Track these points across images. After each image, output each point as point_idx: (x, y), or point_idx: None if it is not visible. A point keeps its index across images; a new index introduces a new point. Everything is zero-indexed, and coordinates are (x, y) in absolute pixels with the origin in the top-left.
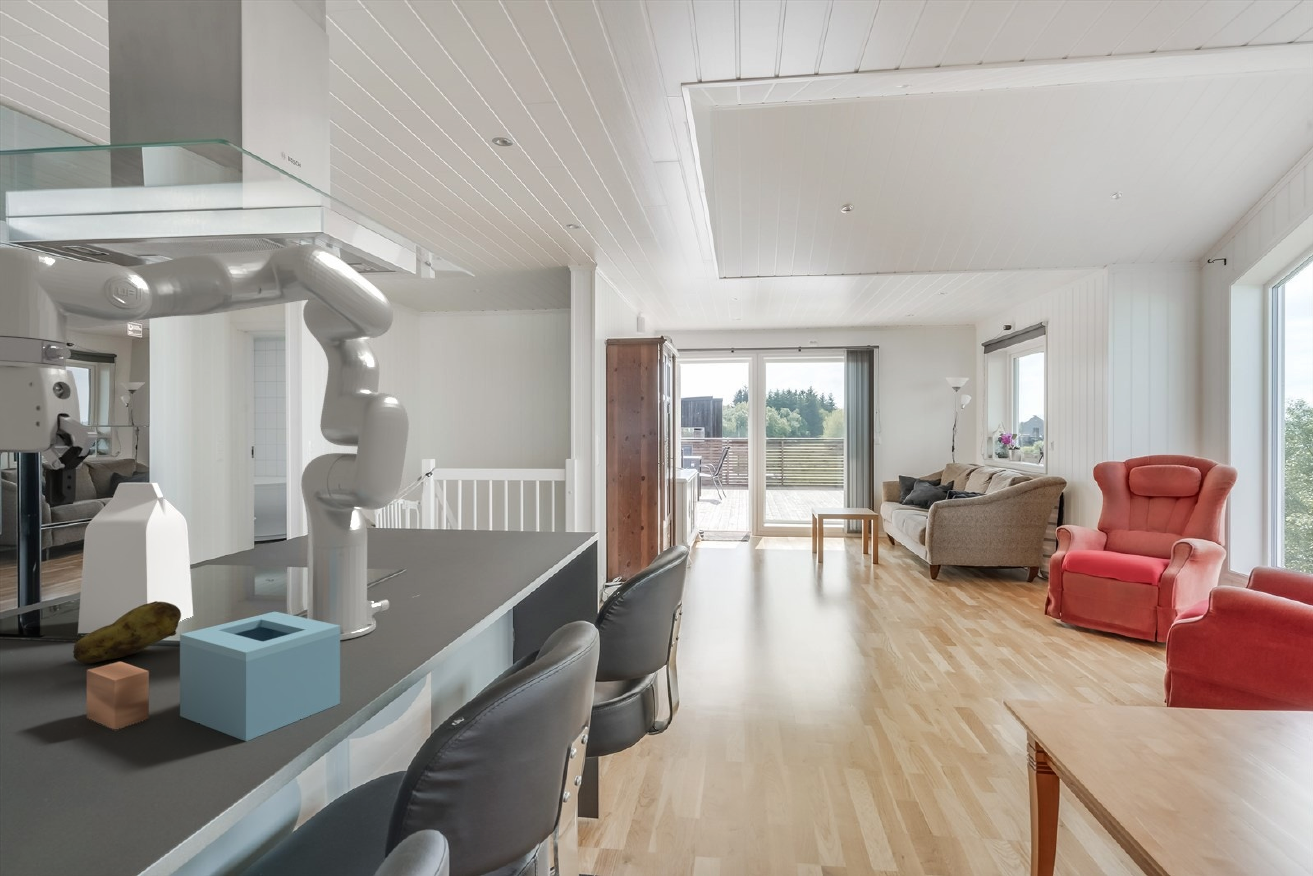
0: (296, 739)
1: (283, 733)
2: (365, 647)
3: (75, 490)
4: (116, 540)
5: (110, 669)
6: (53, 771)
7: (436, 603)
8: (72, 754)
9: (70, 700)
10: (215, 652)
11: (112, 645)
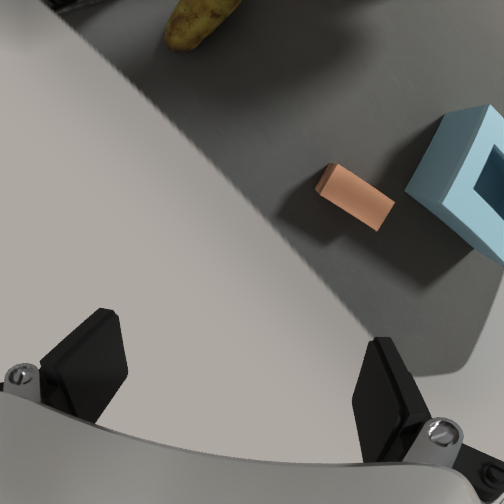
0: None
1: None
2: (466, 20)
3: (400, 356)
4: None
5: (347, 193)
6: (365, 292)
7: None
8: (359, 266)
9: (257, 141)
10: (484, 244)
11: (209, 33)
